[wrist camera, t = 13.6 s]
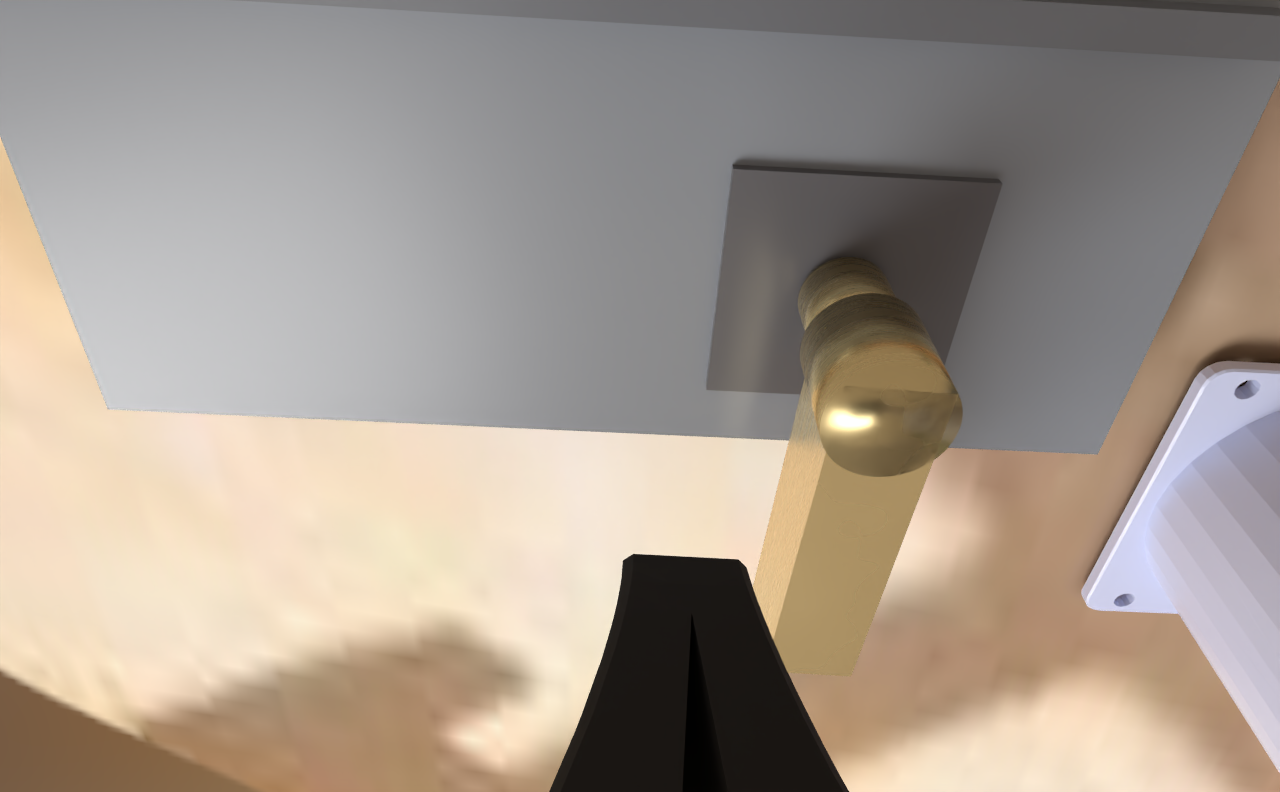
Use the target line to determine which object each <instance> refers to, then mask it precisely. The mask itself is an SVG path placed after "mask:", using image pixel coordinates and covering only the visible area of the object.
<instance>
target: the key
mask: <svg viewBox="0 0 1280 792" xmlns="http://www.w3.org/2000/svg"><path fill="white" fill-rule="evenodd" d="M798 310H799V313H800V317H801V320H802V324H803V327H804V331H805V332H804V334H803V337H802V340H801V344H800V362H801V366H802V370H803V374H804V382H803V386H802V390H801V394H800V398H799V402H798V406H797V410H796V414H795V418H794V423H793V427H792V431H791V435H790V439H789V443H788V447H787V451H786V455H785V459H784V463H783V467H782V471H781V475H780V479H779V483H778V487H777V491H776V496H775V500H774V504H773V508H772V512H771V516H770V520H769V524H768V528H767V532H766V536H765V540H764V544H763V548H762V552H761V556H760V560H759V564H758V569H757V573H756V577H755V581H754V585H753V589H754V592H755V595H756V598H757V601H758V603H759V606H760V608H761V611H762V614H763V616H764V619H765V621H766V624H767V626H768V628H769V631H770V633H771V636H772V638H773V640H774V643H775V645H776V647H777V649H778V652H779V654H780V656H781V659H782V661H783V663H784V665H785V668H786V670H787V672H788V673H802V674H818V675H835V676H851V675H852V672H853V670H854V667H855V664H856V662H857V659H858V657H859V654H860V651H861V649H862V646H863V643H864V641H865V638H866V636H867V633H868V630H869V628H870V625H871V623H872V620H873V617H874V615H875V612H876V609H877V607H878V604H879V602H880V599H881V596H882V594H883V591H884V589H885V586H886V583H887V581H888V578H889V575H890V573H891V570H892V568H893V565H894V562H895V560H896V557H897V555H898V552H899V549H900V547H901V544H902V541H903V539H904V536H905V534H906V531H907V528H908V526H909V523H910V521H911V518H912V515H913V513H914V510H915V507H916V505H917V502H918V500H919V497H920V494H921V492H922V489H923V487H924V484H925V481H926V479H927V476H928V473H929V471H930V468H931V466H932V463H933V460H934V459H936V458H937V457H938V456H940V455H941V454H942V453H943V452H944V451H945V450H946V449H947V448H948V447H949V446H950V444H951V443H952V442H953V440H954V439H955V437H956V436H957V433H958V431H959V429H960V426H961V423H962V417H963V407H962V402H961V399H960V396H959V394H958V392H957V390H956V388H955V386H954V384H953V382H952V380H951V378H950V376H949V374H948V372H947V370H946V368H945V366H944V364H943V362H942V360H941V358H940V356H939V354H938V352H937V350H936V348H935V346H934V344H933V342H932V340H931V338H930V336H929V334H928V332H927V330H926V328H925V326H924V324H923V322H922V320H921V318H920V317H919V315H918V314H917V312H916V311H915V310H914V309H913V308H912V307H911V306H910V305H908V304H907V303H906V302H904V301H902V300H900V299H898V298H896V297H895V295H894V293H893V291H892V288H891V286H890V284H889V282H888V280H887V278H886V276H885V274H884V273H883V272H882V270H881V269H880V268H879V267H878V266H876V265H875V264H873V263H872V262H870V261H867V260H865V259H861V258H855V257H845V258H838V259H834V260H831V261H829V262H826V263H824V264H822V265H821V266H819V267H818V268H816V269H815V270H814V271H813V272H812V273H811V274H810V275H809V276H808V277H807V278H806V279H805V281H804V283H803V284H802V286H801V289H800V291H799V295H798Z"/></svg>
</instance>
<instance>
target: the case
mask: <svg viewBox="0 0 1280 792" xmlns="http://www.w3.org/2000/svg"><path fill="white" fill-rule="evenodd" d="M1279 78H1280V0H0V137H1V140H2V142H3V145H4V147H5V150H6V152H7V155H8V157H9V160H10V163H11V165H12V168H13V170H14V173H15V175H16V178H17V180H18V183H19V185H20V188H21V190H22V193H23V195H24V198H25V201H26V203H27V206H28V208H29V211H30V213H31V216H32V218H33V221H34V223H35V226H36V228H37V231H38V233H39V236H40V238H41V241H42V244H43V246H44V249H45V251H46V254H47V256H48V259H49V261H50V264H51V266H52V269H53V271H54V274H55V276H56V279H57V282H58V284H59V287H60V289H61V292H62V294H63V297H64V299H65V302H66V304H67V307H68V309H69V312H70V314H71V317H72V319H73V322H74V325H75V327H76V330H77V332H78V335H79V337H80V340H81V342H82V345H83V347H84V350H85V352H86V355H87V357H88V360H89V363H90V365H91V368H92V370H93V373H94V375H95V378H96V380H97V383H98V385H99V388H100V390H101V393H102V395H103V398H104V401H105V403H106V406H107V408H108V409H110V410H132V411H154V412H176V413H198V414H220V415H242V416H264V417H286V418H308V419H330V420H352V421H374V422H396V423H418V424H440V425H462V426H484V427H506V428H528V429H550V430H572V431H594V432H616V433H638V434H660V435H682V436H704V437H726V438H748V439H770V440H789V439H790V435H791V431H792V427H793V423H794V418H795V414H796V410H797V406H798V402H799V398H800V394H801V390H802V386H803V382H804V374H803V370H802V366H801V362H800V344H801V340H802V337H803V334H804V332H805V331H804V327H803V324H802V320H801V317H800V313H799V310H798V295H799V291H800V289H801V286H802V284H803V283H804V281H805V279H806V278H807V277H808V276H809V275H810V274H811V273H812V272H813V271H814V270H815V269H816V268H818V267H819V266H821V265H822V264H824V263H826V262H829V261H831V260H834V259H838V258H845V257H855V258H861V259H865V260H867V261H870V262H872V263H873V264H875V265H876V266H878V267H879V268H880V269H881V270H882V272H883V273H884V274H885V276H886V278H887V280H888V282H889V284H890V286H891V288H892V291H893V293H894V295H895V297H896V298H898V299H900V300H902V301H904V302H906V303H907V304H908V305H910V306H911V307H912V308H913V309H914V310H915V311H916V312H917V314H918V315H919V317H920V318H921V320H922V322H923V324H924V326H925V328H926V330H927V332H928V334H929V336H930V338H931V340H932V342H933V344H934V346H935V348H936V350H937V352H938V354H939V356H940V358H941V360H942V362H943V364H944V366H945V368H946V370H947V372H948V374H949V376H950V378H951V380H952V382H953V384H954V386H955V388H956V390H957V392H958V394H959V396H960V399H961V402H962V407H963V417H962V423H961V426H960V429H959V431H958V433H957V436H956V437H955V439H954V440H953V442H952V443H951V444H950V446H949V447H948V448H968V449H990V450H1012V451H1034V452H1056V453H1078V454H1098V453H1099V451H1100V448H1101V446H1102V444H1103V442H1104V440H1105V438H1106V436H1107V434H1108V432H1109V430H1110V428H1111V426H1112V424H1113V422H1114V419H1115V417H1116V415H1117V413H1118V411H1119V409H1120V407H1121V405H1122V403H1123V401H1124V399H1125V397H1126V395H1127V393H1128V391H1129V388H1130V386H1131V384H1132V382H1133V380H1134V378H1135V376H1136V374H1137V372H1138V370H1139V368H1140V366H1141V364H1142V362H1143V360H1144V357H1145V355H1146V353H1147V351H1148V349H1149V347H1150V345H1151V343H1152V341H1153V339H1154V337H1155V335H1156V333H1157V331H1158V329H1159V326H1160V324H1161V322H1162V320H1163V318H1164V316H1165V314H1166V312H1167V310H1168V308H1169V306H1170V304H1171V302H1172V300H1173V297H1174V295H1175V293H1176V291H1177V289H1178V287H1179V285H1180V283H1181V281H1182V279H1183V277H1184V275H1185V273H1186V271H1187V269H1188V266H1189V264H1190V262H1191V260H1192V258H1193V256H1194V254H1195V252H1196V250H1197V248H1198V246H1199V244H1200V242H1201V240H1202V238H1203V235H1204V233H1205V231H1206V229H1207V227H1208V225H1209V223H1210V221H1211V219H1212V217H1213V215H1214V213H1215V211H1216V209H1217V207H1218V204H1219V202H1220V200H1221V198H1222V196H1223V194H1224V192H1225V190H1226V188H1227V186H1228V184H1229V182H1230V180H1231V178H1232V175H1233V173H1234V171H1235V169H1236V167H1237V165H1238V163H1239V161H1240V159H1241V157H1242V155H1243V153H1244V151H1245V149H1246V147H1247V144H1248V142H1249V140H1250V138H1251V136H1252V134H1253V132H1254V130H1255V128H1256V126H1257V124H1258V122H1259V120H1260V118H1261V116H1262V113H1263V111H1264V109H1265V107H1266V105H1267V103H1268V101H1269V99H1270V97H1271V95H1272V93H1273V91H1274V89H1275V87H1276V84H1277V82H1278V80H1279Z"/></svg>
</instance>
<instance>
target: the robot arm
mask: <svg viewBox="0 0 1280 792" xmlns="http://www.w3.org/2000/svg"><path fill="white" fill-rule="evenodd" d="M1245 381H1247V383H1246V384H1245V385H1243V386H1241V387H1239V388H1237V387H1238V386H1239V385H1240V384H1241V383H1243V382H1245ZM1081 594H1082V596H1083V598H1084V600H1085V602H1086V604H1087V606H1088V607H1090V608H1091V609H1095V610H1102V611H1126V612H1151V613H1176V614H1179V615H1180V617H1181V618H1182V620H1183V621H1184V623H1185V625H1186V626H1187V628H1188V629H1189V631H1190V632H1191V634H1192V636H1193V637H1194V639H1195V640H1196V642H1197V643H1198V645H1199V647H1200V648H1201V650H1202V651H1203V653H1204V655H1205V656H1206V658H1207V659H1208V661H1209V662H1210V664H1211V666H1212V667H1213V669H1214V670H1215V672H1216V673H1217V675H1218V677H1219V678H1220V680H1221V681H1222V683H1223V685H1224V686H1225V688H1226V689H1227V691H1228V692H1229V694H1230V696H1231V697H1232V699H1233V700H1234V702H1235V703H1236V705H1237V707H1238V708H1239V710H1240V711H1241V713H1242V715H1243V716H1244V718H1245V719H1246V721H1247V722H1248V724H1249V726H1250V727H1251V729H1252V730H1253V732H1254V734H1255V735H1256V737H1257V738H1258V740H1259V741H1260V743H1261V745H1262V746H1263V748H1264V749H1265V751H1266V752H1267V754H1268V756H1269V757H1270V759H1271V760H1272V762H1273V764H1274V765H1275V767H1276V768H1277V770H1278V771H1279V773H1280V364H1278V363H1258V362H1237V361H1222V362H1216V363H1214V364H1211V365H1209V366H1207V367H1206V368H1204V369H1203V370H1201V371H1200V372H1199V374H1198V375H1197V376H1196V377H1195V379H1194V381H1193V383H1192V385H1191V386H1190V388H1189V390H1188V392H1187V394H1186V396H1185V398H1184V399H1183V401H1182V403H1181V405H1180V407H1179V409H1178V411H1177V413H1176V414H1175V416H1174V418H1173V420H1172V422H1171V424H1170V426H1169V428H1168V429H1167V431H1166V433H1165V435H1164V437H1163V439H1162V441H1161V442H1160V444H1159V446H1158V448H1157V450H1156V452H1155V454H1154V456H1153V457H1152V459H1151V461H1150V463H1149V465H1148V467H1147V469H1146V471H1145V472H1144V474H1143V476H1142V478H1141V480H1140V482H1139V484H1138V486H1137V487H1136V489H1135V491H1134V493H1133V495H1132V497H1131V499H1130V500H1129V502H1128V504H1127V506H1126V508H1125V510H1124V512H1123V514H1122V515H1121V517H1120V519H1119V521H1118V523H1117V525H1116V527H1115V529H1114V530H1113V532H1112V534H1111V536H1110V538H1109V540H1108V542H1107V543H1106V545H1105V547H1104V549H1103V551H1102V553H1101V555H1100V557H1099V558H1098V560H1097V562H1096V564H1095V566H1094V568H1093V570H1092V572H1091V573H1090V575H1089V577H1088V579H1087V581H1086V583H1085V585H1084V587H1083V588H1082V592H1081ZM549 792H849V791H848V789H847V787H846V786H845V784H844V782H843V780H842V779H841V777H840V775H839V773H838V771H837V769H836V767H835V766H834V764H833V762H832V760H831V758H830V756H829V754H828V753H827V751H826V749H825V747H824V745H823V743H822V741H821V739H820V737H819V735H818V733H817V731H816V729H815V727H814V725H813V723H812V721H811V719H810V717H809V715H808V713H807V711H806V709H805V707H804V705H803V703H802V701H801V699H800V697H799V695H798V693H797V691H796V689H795V687H794V685H793V683H792V681H791V678H790V676H789V674H788V672H787V670H786V668H785V665H784V663H783V661H782V659H781V656H780V654H779V652H778V649H777V647H776V645H775V643H774V640H773V638H772V636H771V633H770V631H769V628H768V626H767V624H766V621H765V619H764V616H763V614H762V611H761V608H760V606H759V603H758V601H757V598H756V595H755V592H754V589H753V587H752V584H751V581H750V578H749V574H748V571H747V568H746V567H745V566H744V565H743V564H742V563H741V562H740V561H739V560H737V559H718V558H699V557H680V556H661V555H642V554H633V555H631V556H630V557H628V558H626V559H625V560H623V568H622V579H621V586H620V591H619V597H618V602H617V606H616V611H615V615H614V619H613V622H612V626H611V630H610V633H609V636H608V640H607V643H606V647H605V650H604V653H603V657H602V660H601V663H600V665H599V668H598V671H597V674H596V677H595V679H594V682H593V685H592V688H591V691H590V693H589V696H588V699H587V702H586V704H585V707H584V710H583V713H582V716H581V718H580V721H579V723H578V726H577V728H576V731H575V733H574V736H573V738H572V740H571V743H570V745H569V747H568V750H567V752H566V754H565V756H564V759H563V761H562V763H561V766H560V768H559V770H558V773H557V775H556V777H555V780H554V782H553V784H552V787H551V789H550V791H549Z"/></svg>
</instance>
